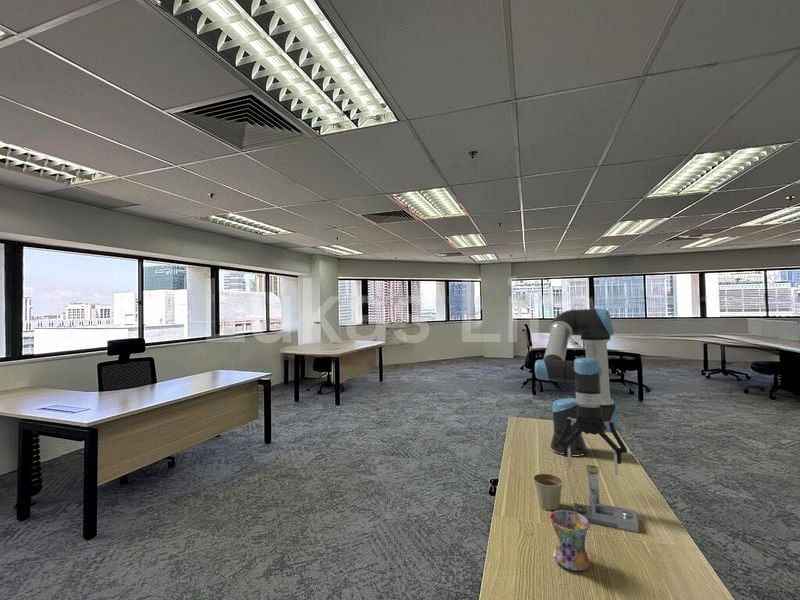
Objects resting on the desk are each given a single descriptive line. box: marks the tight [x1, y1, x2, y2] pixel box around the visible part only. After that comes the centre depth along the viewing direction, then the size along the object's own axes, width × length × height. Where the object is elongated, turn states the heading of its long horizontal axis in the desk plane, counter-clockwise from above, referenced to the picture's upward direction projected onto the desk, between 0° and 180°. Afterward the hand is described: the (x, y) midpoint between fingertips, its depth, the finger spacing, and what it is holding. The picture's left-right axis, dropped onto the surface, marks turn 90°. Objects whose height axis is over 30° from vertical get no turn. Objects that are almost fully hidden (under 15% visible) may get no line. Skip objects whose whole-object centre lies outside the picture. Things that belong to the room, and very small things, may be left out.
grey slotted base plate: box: [572, 502, 640, 533], centre depth 111 cm, size 8×17×3 cm, turn 62°
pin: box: [585, 464, 601, 506], centre depth 120 cm, size 4×4×12 cm
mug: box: [549, 509, 591, 572], centre depth 94 cm, size 12×9×11 cm
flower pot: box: [532, 473, 564, 511], centre depth 120 cm, size 9×9×9 cm
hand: (592, 470), depth 120 cm, fingers open, 13 cm apart
